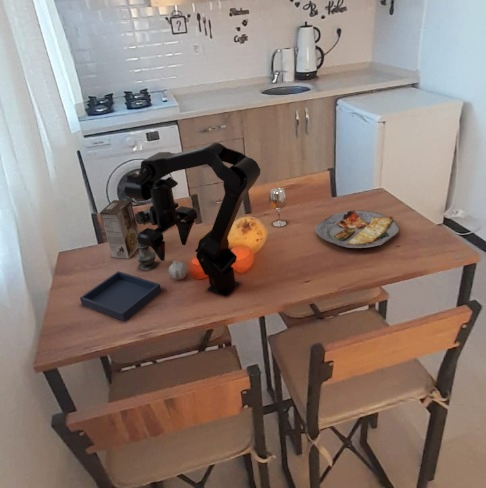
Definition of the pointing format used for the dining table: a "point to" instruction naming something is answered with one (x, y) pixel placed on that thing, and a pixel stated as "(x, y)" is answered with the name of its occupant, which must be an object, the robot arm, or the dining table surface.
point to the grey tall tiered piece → (146, 257)
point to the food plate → (357, 229)
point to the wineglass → (278, 203)
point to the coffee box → (120, 228)
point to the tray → (121, 295)
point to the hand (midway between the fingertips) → (173, 252)
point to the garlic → (178, 270)
